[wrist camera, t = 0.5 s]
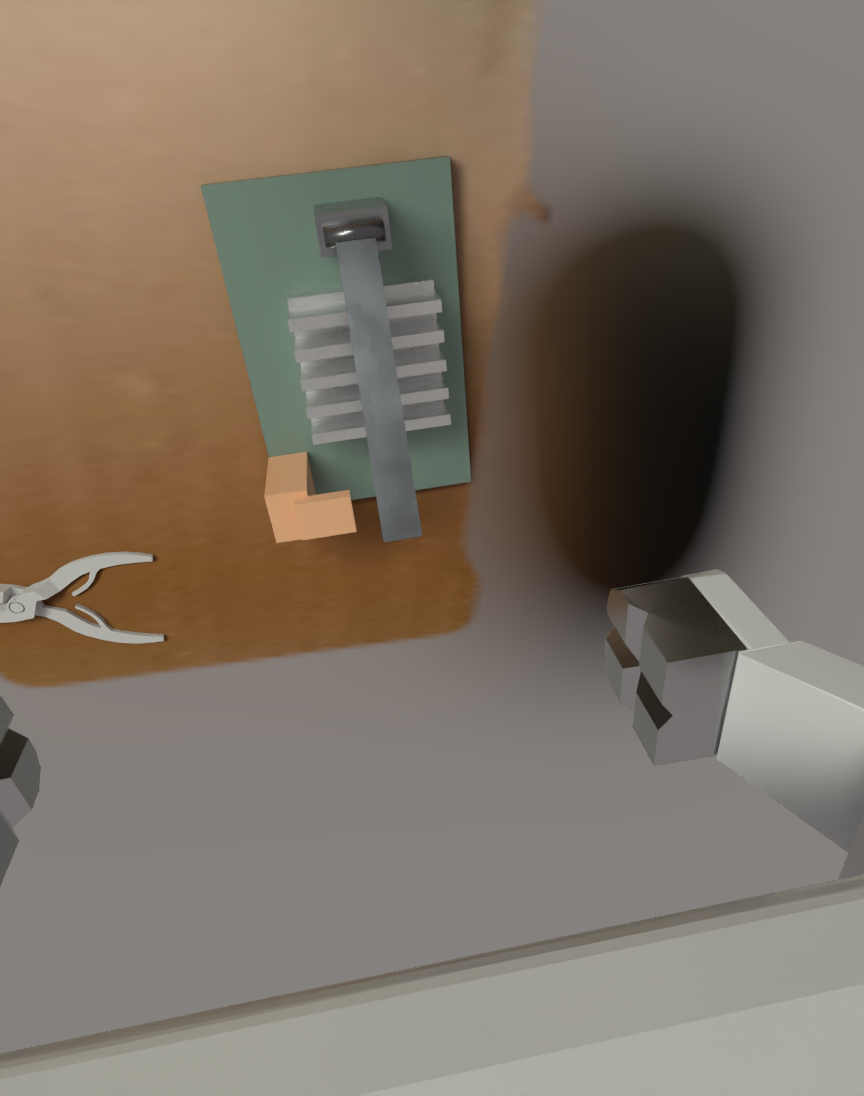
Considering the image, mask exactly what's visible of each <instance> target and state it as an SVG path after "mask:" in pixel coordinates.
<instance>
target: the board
mask: <svg viewBox="0 0 864 1096" xmlns="http://www.w3.org/2000/svg"><path fill="white" fill-rule="evenodd" d="M201 189H202V193H203V197H204V201H205V205H206V209H207V213H208V217H209V221H210V225H211V228H212V232H213V236H214V240H215V244H216V248H217V252H218V256H219V260H220V264H221V268H222V272H223V276H224V280H225V284H226V288H227V292H228V296H229V300H230V304H231V308H232V312H233V316H234V320H235V324H236V328H237V332H238V336H239V340H240V344H241V348H242V352H243V356H244V360H245V364H246V367H247V371H248V375H249V379H250V383H251V387H252V391H253V395H254V399H255V403H256V407H257V411H258V415H259V419H260V423H261V427H262V431H263V435H264V439H265V443H266V447H267V451H268V455H269V457H274V456H281V455H287V454H294V453H301V452H307V455H308V459H309V464H310V468H311V473H312V478H313V482H314V487H315V492H316V495H318V494H325V493H331V492H338V491H344V490H350V496H351V500H355V499H362V498H368V497H375V496H376V492H375V486H374V480H373V473H372V467H371V461H370V455H369V448H368V442H367V437H363V438H357V439H350V440H343V441H336V442H329V443H323V444H316V445H313V440H312V435H311V418H310V419H308V416H307V411H306V391H302V387H301V382H300V367H301V365H300V362H298V363H296V358H295V354H294V342H295V336H294V332H290V330H289V325H288V310H289V307H288V302H287V294H288V293H290V292H297V291H305V290H313V289H320V288H328V287H336V286H342V280H341V274H340V267H339V261H338V256H332V257H325V258H321V253H320V247H319V241H318V235H317V229H316V223H315V218H314V205H316V204H324V203H333V202H341V201H349V200H358V199H366V198H374V197H381V198H382V200H383V201H384V202H385V204H386V205H387V208H388V217H389V226H390V234H391V243H392V249H388V250H380V251H378V255H379V262H380V268H381V275H382V280H389V279H397V278H405V277H413V276H420V275H428V274H430V276H431V277H432V279H433V281H434V290H435V291H436V293H437V294H438V296H439V297H440V299H441V304H442V312H439V313H436V317H437V320H438V322H439V323H440V325H441V327H442V328H443V330H444V341H445V342H443V343H439V347H440V349H441V351H442V353H443V355H444V357H445V359H446V366H447V371H444V372H441V374H442V376H443V378H444V380H445V382H446V384H447V386H448V391H449V399H444V401H445V404H446V406H447V408H448V410H449V412H450V416H451V425H445V426H438V427H431V428H425V429H418V430H411V431H406V435H407V441H408V448H409V454H410V461H411V467H412V474H413V480H414V486H415V490H420V489H427V488H433V487H440V486H446V485H453V484H459V483H466V482H471V472H470V456H469V441H468V426H467V410H466V395H465V380H464V365H463V349H462V334H461V319H460V303H459V288H458V273H457V257H456V242H455V227H454V212H453V196H452V181H451V166H450V157H449V156H442V157H434V158H425V159H417V160H408V161H400V162H391V163H383V164H374V165H366V166H357V167H349V168H340V169H331V170H323V171H314V172H306V173H297V174H289V175H280V176H272V177H263V178H255V179H246V180H238V181H229V182H221V183H212V184H203V185H202V186H201Z"/></svg>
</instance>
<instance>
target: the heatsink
mask: <svg viewBox="0 0 864 1096" xmlns="http://www.w3.org/2000/svg"><path fill="white" fill-rule="evenodd" d="M314 218H315V223H316V229H317V235H318V241H319V247H320V253H321V258H325V257H332V256H338V255H337V249H336V248H329V249H326V244H325V238H324V232H323V227H325V226H333V225H341V224H350V223H358V222H366V221H374V220H382V219H383V221H384V227H385V235H386V241H384V242H377V249H378V251H380V250H388V249H392V243H391V234H390V226H389V217H388V208H387V205H386V204H385V202H384V201H383V200H382V198H381V197H374V198H366V199H358V200H349V201H341V202H333V203H324V204H316V205H314ZM382 281H383V287H384V294H385V300H386V307H387V313H388V319H389V326H390V332H391V339H392V345H393V352H394V358H395V364H396V371H397V377H398V384H399V390H400V397H401V403H402V409H403V416H404V422H405V429H406V431H411V430H418V429H425V428H431V427H438V426H445V425H451V416H450V412H449V410H448V408H447V406H446V404H445V401H444V399H449V391H448V386H447V384H446V382H445V380H444V378H443V376H442V374H441V372H444V371H447V366H446V359H445V357H444V355H443V353H442V351H441V349H440V347H439V343H443V342H445V341H444V330H443V328H442V327H441V325H440V323H439V322H438V320H437V317H436V313H439V312H442V304H441V299H440V297H439V296H438V294H437V293H436V291H435V290H434V281H433V279H432V277H431V276H430V274H428V275H420V276H413V277H405V278H397V279H389V280H382ZM287 302H288V307H289V310H288V325H289V330H290V332H294V336H295V342H294V354H295V358H296V363H298V362H300V365H301V367H300V382H301V387H302V391H306V411H307V416H308V419H310V418H311V435H312V440H313V445H316V444H323V443H329V442H336V441H343V440H350V439H357V438H363V437H367V436H366V430H365V423H364V417H363V411H362V405H361V398H360V392H359V386H358V380H357V374H356V367H355V361H354V355H353V349H352V342H351V336H350V330H349V324H348V317H347V311H346V305H345V299H344V292H343V286H336V287H328V288H320V289H313V290H305V291H297V292H290V293H288V294H287Z"/></svg>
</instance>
